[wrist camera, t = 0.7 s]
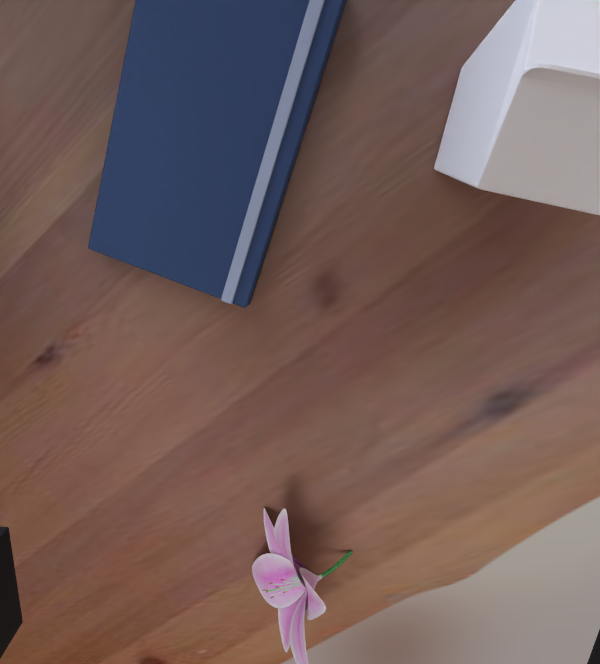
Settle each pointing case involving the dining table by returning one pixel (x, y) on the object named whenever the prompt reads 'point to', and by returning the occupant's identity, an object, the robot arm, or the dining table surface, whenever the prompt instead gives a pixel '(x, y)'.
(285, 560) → the lily
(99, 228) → the blue striped flat slab
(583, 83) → the milk
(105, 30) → the dining table surface
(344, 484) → the dining table surface
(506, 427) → the dining table surface
